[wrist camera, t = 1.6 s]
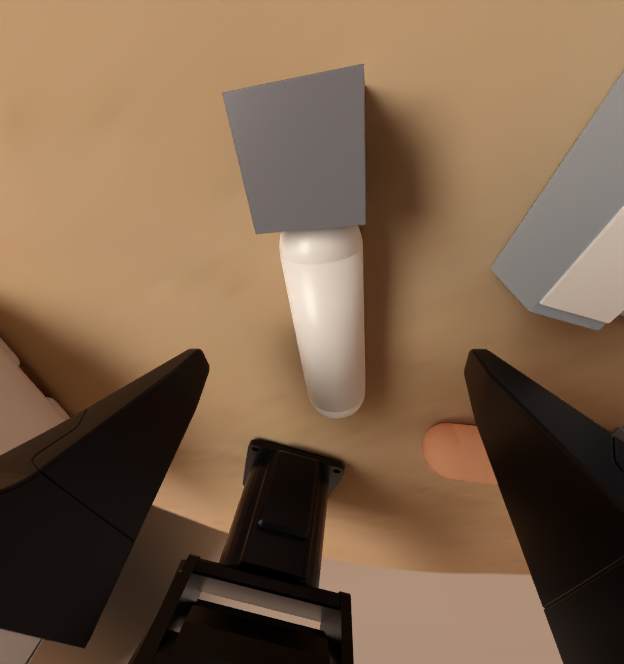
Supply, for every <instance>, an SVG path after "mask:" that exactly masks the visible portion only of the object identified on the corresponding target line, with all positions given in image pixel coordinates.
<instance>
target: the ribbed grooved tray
mask: <svg viewBox="0 0 624 664" xmlns="http://www.w3.org/2000/svg"><path fill="white" fill-rule="evenodd" d="M490 269H491V270H492V272H493V273H494V274H495V275H496V276H497V277H498V278H499V279H500V280H501V281H502V282H503V284H504V285H505V286H506V287H507V288H508V289H509V290H510V291H511V292H512V293H513V295H514V296H515V297H516V298H517V299H518V300H519V301H520V302H521V303H522V304H523V305H524V307H525V308H526V309H527V310H528V311H529V312H532V313H536V314H540V315H543V316H547V317H550V318H554V319H557V320H561V321H565V322H568V323H572V324H575V325H579V326H583V327H586V328H590V329H593V330H597V331H598V330H600V329H601V328H602V327H603V326H604V325H605V324H606V323H610V322H611V321H612V320H613V319H615V318H616V317H617V316H618V315H619V314H620V315H623V316H624V72H623V73H622V75H621V76H620V78H619V79H618V80H617V82H616V83H615V85H614V86H613V88H612V89H611V91H610V92H609V94H608V95H607V97H606V98H605V100H604V101H603V103H602V104H601V106H600V107H599V109H598V110H597V111H596V113H595V114H594V116H593V117H592V119H591V120H590V122H589V123H588V125H587V126H586V128H585V129H584V131H583V132H582V134H581V135H580V137H579V138H578V139H577V141H576V142H575V144H574V145H573V147H572V148H571V150H570V151H569V153H568V154H567V156H566V157H565V159H564V160H563V162H562V163H561V165H560V166H559V168H558V169H557V170H556V172H555V173H554V175H553V176H552V178H551V179H550V181H549V182H548V184H547V185H546V187H545V188H544V190H543V191H542V193H541V194H540V196H539V197H538V199H537V200H536V201H535V203H534V204H533V206H532V207H531V209H530V210H529V212H528V213H527V215H526V216H525V218H524V219H523V221H522V222H521V224H520V225H519V227H518V228H517V230H516V231H515V232H514V234H513V235H512V237H511V238H510V240H509V241H508V243H507V244H506V246H505V247H504V249H503V250H502V252H501V253H500V255H499V256H498V258H497V259H496V260H495V262H494V263H493V265H492V266H491V268H490Z"/></svg>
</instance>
